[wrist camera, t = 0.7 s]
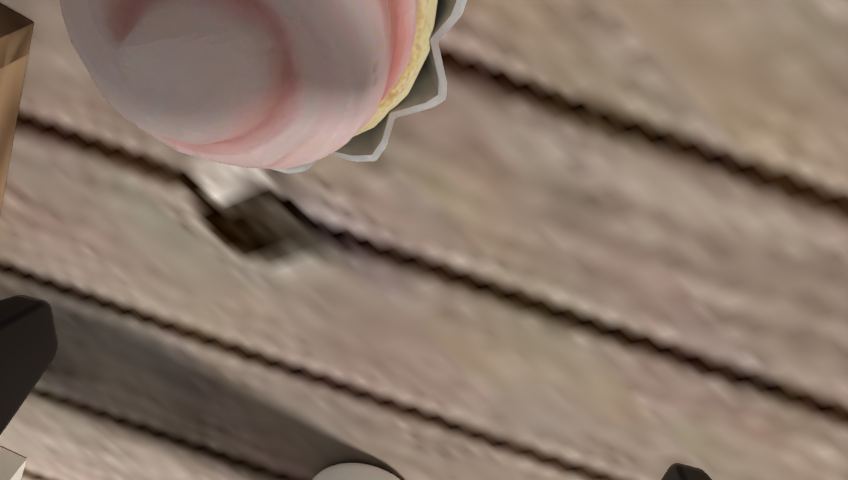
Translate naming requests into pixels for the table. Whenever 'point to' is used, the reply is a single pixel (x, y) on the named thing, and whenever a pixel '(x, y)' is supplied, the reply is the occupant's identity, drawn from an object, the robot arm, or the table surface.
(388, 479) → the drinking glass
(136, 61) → the cupcake
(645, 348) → the table surface
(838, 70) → the table surface
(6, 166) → the rail
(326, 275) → the table surface
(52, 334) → the robot arm
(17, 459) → the cabinet
